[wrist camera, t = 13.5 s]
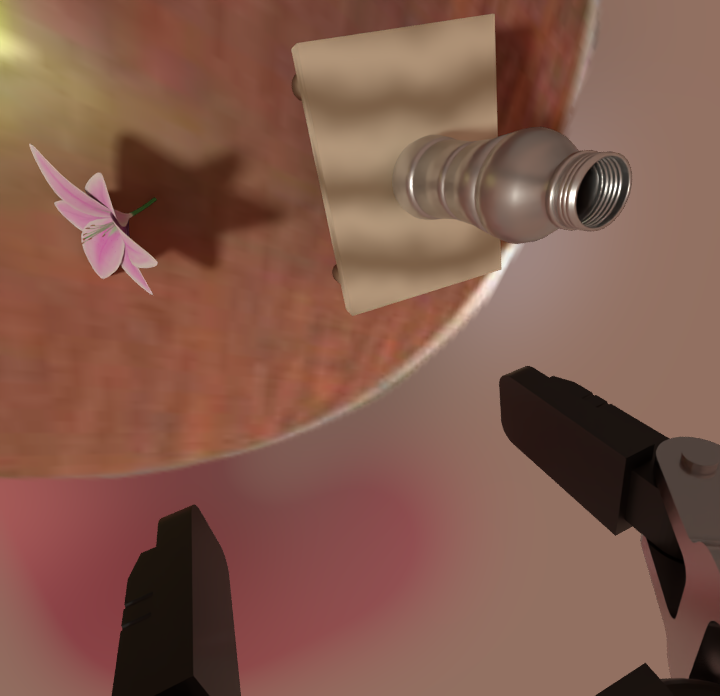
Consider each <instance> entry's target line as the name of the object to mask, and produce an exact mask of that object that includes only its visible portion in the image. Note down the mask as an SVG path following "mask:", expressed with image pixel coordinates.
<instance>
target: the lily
mask: <svg viewBox="0 0 720 696" xmlns="http://www.w3.org/2000/svg"><path fill="white" fill-rule="evenodd" d="M30 149H31V151H32V154H33V156H34V158H35V160H36V162H37V164H38V166H39V168H40V170H41V172H42V173H43V175H44V177H45V178H46V180H47V182H48V183H49V185H50V186H51V187H52V189H53V190H54V192H55V193H56V194H57V195H58V196H59V197H60V198H61V199H62V200H61V201H57V202H55V203H54V204H55V206H56V207H57V209H58V210H59V211H60V212H61V214H62V215H63V216H64V217H65V218H67V219H68V220H69V221H70V222H71V223H72V224H73V225H74V226H76V227H77V228H78V229H80V230H81V231H83V232H82V234H81V236H82V245H83V248H84V251H85V254H86V256H87V258H88V260H89V262H90V264H91V265H92V267H93V269H94V270H95V272H96V273H97V274H98V275H99V276H100V277H101V278H107V277H108V276H110V275H111V274H113V273H114V272H115V271H116V270H117V269H118V267H119V265H121V266H122V268H123V269H124V270H125V271H126V273H127V274H128V275H129V276H130V277H131V278H132V279H133V280H134V281H135V282H136V283H137V284H138V285H140V286H141V287H142V288H143V289H144V290H146V291H147V292H148V293H150V294H152V295H153V293H152V292H151V290H150V288H149V286H148V285H147V283H146V281H145V279H144V277H143V276H142V274H141V272H140V270H139V268H150V267H154V266H157V263H158V262H157V261H156V260H155V259H154V258H153V257H152V256H151V255H150V254H149V253H148V252H146V251H145V250H144V249H143V248H141V247H140V246H139V245H138V244H136V243H135V242H134V241H133V240H132V239H130V238H129V218H131V217H132V216H134V215H136V214H138V213H139V212H141V211H142V210H144V209H145V208H147V207H148V206H150V205H151V204H152V203H154V202H155V201H156V200H157V199H156V198H153V199H151V200H150V201H149V202H147V203H146V204H145V205H143V206H142V207H140V208H138V209H137V210H135V211H133V212H131V213H122V212H119V211H117V210H115V209H113V206H112V203H111V200H110V197H109V194H108V191H107V188H106V184H105V181H104V178H103V176H102V174H101V173H96V174H95V175H93V176H92V177H91V178H90V179H89V181H88V182H87V184H86V187H85V190H86V193H87V194H88V195H89V196H88V195H87V194H85V193H84V192H82V191H81V190H79V189H78V188H77V187H75V186H74V185H73V184H71V183H70V182H69V181H68V180H67V179H66V178H64V177H63V176H62V175H61V174H60V173H59V172H58V171H57V170H56V169H55V168H54V167H53V166H52V165H51V164H50V163H49V162H48V161H47V160H46V159H45V158H44V157H43V155H42V154H41V153H40V152H39V151H38V150H37V149H36V148H35V147H34V146H33V145H31V144H30ZM94 199H95V200H94ZM97 201H98V202H97ZM99 202H100V203H102V204H103V205H102V204H100V203H99ZM104 205H105V206H106V207H105V206H104ZM107 207H108V208H107ZM138 267H139V268H138Z"/></svg>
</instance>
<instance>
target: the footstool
mask: <svg viewBox="0 0 720 696" xmlns="http://www.w3.org/2000/svg"><path fill="white" fill-rule="evenodd" d="M291 51H292V55H293V60H294V65H295V70H296V75H295V76H294V78H293V80H292V90H293V93H294V95H295V96H296V97H297V98H298V99H299V100H301V101H302V103H303V107H304V112H305V117H306V122H307V126H308V131H309V136H310V141H311V145H312V150H313V155H314V159H315V164H316V169H317V174H318V178H319V183H320V188H321V193H322V197H323V202H324V207H325V212H326V216H327V221H328V226H329V230H330V235H331V240H332V245H333V249H334V254H335V259H336V265H335V266H334V268H333V272H332V274H333V277H334V279H335V280H336V281H337V282H338V283H340V284H341V287H342V292H343V297H344V301H345V306H346V310H347V311H348V312H349V313H350V314H351V315H352V316H354V315H357V314H360V313H364V312H367V311H370V310H373V309H376V308H380V307H383V306H386V305H389V304H392V303H396V302H399V301H402V300H405V299H408V298H411V297H415V296H418V295H421V294H424V293H427V292H431V291H434V290H437V289H440V288H443V287H447V286H450V285H453V284H456V283H459V282H463V281H466V280H469V279H472V278H475V277H478V276H482V275H485V274H488V273H491V272H494V271H498V270H501V240H500V239H498V238H496V237H493V236H492V235H490V234H488V233H486V232H484V231H483V230H481V229H479V228H477V227H475V226H474V225H471V224H468V223H465V222H462V221H459V220H456V219H444V218H443V219H436V220H424V219H419V218H416V217H414V216H412V215H411V214H409V213H408V212H407V211H405V210H404V209H403V208H402V207H401V206H400V205H399V203H398V201H397V200H396V198H395V195H394V192H393V186H392V176H393V170H394V167H395V164H396V161H397V159H398V157H399V155H400V154H401V153H402V151H403V150H404V149H405V148H406V147H407V146H408V145H409V144H411V143H412V142H414V141H416V140H418V139H420V138H422V137H424V136H428V135H436V134H437V135H442V136H447V137H452V138H454V139H456V140H462V141H471V142H472V141H479V140H486V139H493V138H496V137H498V127H497V89H496V52H495V14H489V15H482V16H476V17H469V18H462V19H456V20H449V21H442V22H436V23H429V24H422V25H416V26H409V27H402V28H396V29H389V30H382V31H376V32H369V33H362V34H356V35H349V36H342V37H335V38H329V39H322V40H315V41H309V42H302V43H297V44H296V45H295V46H294V47H293V48H292V49H291Z"/></svg>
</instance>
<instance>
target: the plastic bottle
mask: <svg viewBox="0 0 720 696" xmlns="http://www.w3.org/2000/svg"><path fill="white" fill-rule="evenodd" d="M631 185H632V171H631V167H630V164H629V162H628V160H627V159H626V158H625V157H624V156H623V155H621V154H619V153H615V152H597V151H593V150H586V151H578V149H577V148H576V147H575V146H574V145H573V143H572V142H571V141H570V140H569V139H568V138H567V137H566V136H564V135H562V134H561V133H559V132H556V131H554V130H552V129H549V128H544V127H532V128H527V129H521V130H518V131H515V132H512V133H509V134H506V135H502V136H499V137H496V138H493V139H486V140H479V141H472V142H471V141H462V140H456V139H454V138H452V137H447V136H442V135H437V134H436V135H428V136H424V137H422V138H420V139H418V140H416V141H414V142H412V143H411V144H409V145H408V146H407V147H406V148H405V149H404V150H403V151H402V153H401V154H400V155H399V157H398V159H397V161H396V164H395V167H394V170H393V176H392V186H393V192H394V195H395V198H396V200H397V201H398V203H399V205H400V206H401V207H402V208H403V209H404V210H405V211H407V212H408V213H409V214H411V215H412V216H414V217H416V218H419V219H424V220H436V219H443V218H444V219H456V220H459V221H462V222H465V223H468V224H471V225H474V226H475V227H477V228H479V229H481V230H483V231H484V232H486V233H488V234H490V235H492V236H493V237H496V238H498V239H501V240H503V241H506V242H508V243H514V244H520V243H526V242H533V241H537V240H540V239H542V238H544V237H546V236H548V235H549V234H551V233H553V232H554V231H556V230H557V229H564V230H571V231H572V230H583V231H598V230H601V229H603V228H605V227H607V226H608V225H610V224H611V223H612V222H613V221H614V220H615V219H616V218H617V217H618V215H619V214H620V213H621V211H622V210H623V208H624V206H625V204H626V202H627V200H628V197H629V194H630V190H631Z"/></svg>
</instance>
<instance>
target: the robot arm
mask: <svg viewBox="0 0 720 696" xmlns="http://www.w3.org/2000/svg"><path fill="white" fill-rule="evenodd" d="M499 387H500V406H501V422H502V426H503V429H504V431H505V433H506V435H507V437H508V438H509V440H510V441H511V442H512V443H513V444H514V445H515V446H516V447H517V448H519V449H520V450H521V451H522V452H523V453H524V454H525V455H526V456H527V457H528V458H530V459H531V460H532V461H533V462H534V463H535V464H536V465H537V466H538V467H540V468H541V469H542V470H543V471H544V472H545V473H546V474H547V475H548V476H550V477H551V478H552V479H553V480H554V481H555V482H557V484H559V485H560V486H561V487H562V488H563V489H564V490H565V491H566V492H567V493H569V494H570V495H571V496H572V497H573V498H574V499H575V500H576V501H577V502H579V503H580V504H581V505H582V506H583V507H584V508H585V509H586V510H588V511H589V512H590V513H591V514H592V515H593V516H594V517H595V518H597V519H598V520H599V521H600V522H601V523H602V524H603V525H604V526H605V527H607V528H608V529H609V530H610V531H611V532H612V533H613V534H614V535H615V536H616V535H618V534H619V533H621V532H623V531H625V530H627V529H629V528H630V527H632V526H633V527H634V528H636V529H637V530H638V531H639V532H640V533H641V540H640V541H641V546H642V550H643V553H644V557H645V560H646V563H647V567H648V570H649V574H650V577H651V581H652V584H653V587H654V591H655V594H656V598H657V601H658V605H659V608H660V612H661V615H662V619H663V622H664V625H665V630H666V637H667V657H668V664H669V670H670V675H671V678H669V679H659V677H658V676H657V675H656V674H655V673H654V672H653V671H652V670H651V669H650V667H649V666H648V665H647V664H646V663H644V664H643V665H641V666H640V667H638V668H637V669H635V670H634V671H632V672H631V673H629V674H628V675H626V676H624V677H623V678H621V679H620V680H618V681H617V682H615V683H614V684H612V685H611V686H609V687H608V688H606V689H605V690H603V691H602V692H600V693H598V694H597V695H596V696H720V445H719V444H716V443H714V442H711V441H708V440H704V439H700V438H694V437H676V438H671V439H669V438H668V437H665V436H664V435H662V434H661V433H659V432H657V431H656V430H654V429H652V428H651V427H649V426H647V425H646V424H644V423H642V422H640V421H639V420H637V419H635V418H634V417H632V416H630V415H629V414H627V413H625V412H624V411H622V410H620V409H619V408H617V407H615V406H613V405H612V404H608V403H607V401H605V400H604V399H602V398H600V397H599V396H597V395H595V396H594V395H593V394H592V392H590V391H588V390H587V389H585V388H583V387H582V386H580V385H578V384H577V383H575V382H572V381H569V380H565V379H562V378H558V377H555V376H552V377H550V378H549V377H547V376H546V375H544V374H543V373H541V372H539V371H538V370H536V369H535V368H533V367H530V366H525V367H523V368H521V369H518V370H516V371H513V372H511V373H509V374H506V375H504V376H502V377H501V378H500V382H499ZM230 591H231V590H230V580H229V572H228V566H227V562H226V559H225V556H224V553H223V550H222V548H221V546H220V544H219V542H218V541H217V539H216V537H215V536H214V534H213V532H212V530H211V529H210V527H209V526H208V523H207V522H206V520H205V518H204V516H203V515H202V513H201V511H200V510H199V508H198V507H197V506H196V505H192V506H189V507H187V508H185V509H183V510H180V511H177V512H175V513H173V514H170V515H168V516H166V517H163V518H161V519H160V520H159V523H158V532H157V544H156V547H155V548H152V549H150V550H148V551H145V552H143V553H141V554H140V556H139V559H138V561H137V562H136V564H135V566H134V568H133V570H132V572H131V574H130V576H129V578H128V582H127V589H126V597H125V609H124V611H123V618H122V625H121V626H122V631H121V633H120V640H119V647H118V654H117V662H116V669H115V676H114V683H113V690H112V696H241V692H240V682H239V672H238V662H237V652H236V642H235V632H234V621H233V611H232V600H231V592H230Z"/></svg>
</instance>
